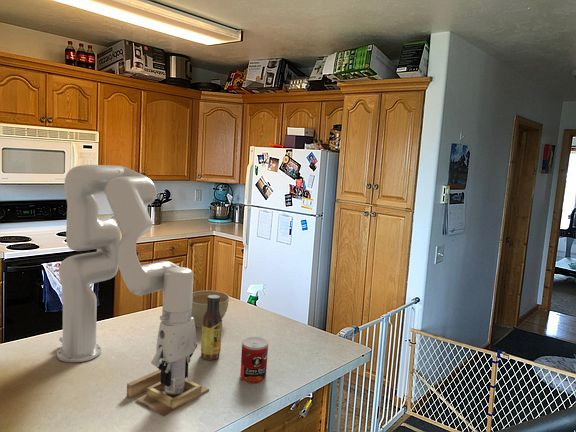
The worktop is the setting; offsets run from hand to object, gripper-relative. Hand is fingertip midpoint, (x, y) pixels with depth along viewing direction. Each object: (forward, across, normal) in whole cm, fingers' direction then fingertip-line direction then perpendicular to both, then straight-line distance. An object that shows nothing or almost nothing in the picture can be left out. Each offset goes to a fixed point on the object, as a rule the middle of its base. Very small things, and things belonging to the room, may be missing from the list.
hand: (174, 379), depth 120 cm
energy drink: (+3, 0, 0) cm, 3 cm away
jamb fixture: (+5, 0, +2) cm, 5 cm away
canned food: (+5, +22, -10) cm, 25 cm away
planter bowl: (+5, +43, +29) cm, 52 cm away
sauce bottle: (+5, +24, +9) cm, 26 cm away
